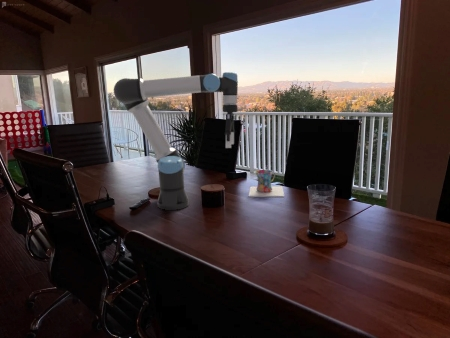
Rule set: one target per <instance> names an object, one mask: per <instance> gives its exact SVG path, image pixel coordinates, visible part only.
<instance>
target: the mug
mask: <svg viewBox="0 0 450 338" xmlns="http://www.w3.org/2000/svg"><path fill="white" fill-rule="evenodd" d="M255 175H256V177H257V186H256V187H257V191H260V192H269V191H271V190H272V187H271V186H272V184H271V183H272V182H273V181H274V180H275V178H276V172H274V171H273V170H270V169H260V170H256V171H255ZM272 176H273V178H272ZM271 178H272V179H271Z"/></svg>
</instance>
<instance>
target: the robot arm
mask: <svg viewBox="0 0 450 338" xmlns="http://www.w3.org/2000/svg"><path fill="white" fill-rule="evenodd" d="M238 83H239V82H238V74H237V72H235V71H234V72H233V71H232V72H231V71H229V72H222V75H221V76H218V75H217V74H214V73H208V74H203V75H202V74H201V75H191V76H190V75H189V76H181V77H179V76H178V77H170V78H167V77H165V78H158V79H145V80H144V79H142V78H141V77H139V78H127V77H126V78H125V77H124V78H121V79H119V80H118V81H117V82H116V83H115V84H114V85H113V86H114V87H113V94H114V97H115V99H116V100H117V101H118V102H120V103H121V104H123V105H124V107H125V109H126V110H127V112H128V113H130V114H132V115H133V117H134V118H135V120H136V121H137V124H138V125H139V127H140V129H141V130H142V132H143V134H144V135H145V137H146V139H147V141H148V143H149V145H150V146H151V148H152V150H153V152H154V153H155V155H156V157H155V160H156V163H157V168H158V180H159V195H158V199H157V208H158V207H159V208H161V209H160V210H162V209H165V210H164V211H177V209H178V210H182V209H186V208H187V207H189V206H190V200H189V197H188V194H187V192H186V190H185V178H184V171H185V166H186V163H185V161H184V159H183V158H182V156H180V154H179V153H178V151H177V149H176V148H174V147H172V146H171V143H169V140H168V139H167V137H166V135H165V133H164V131H163V130H162V128H161V126H160V124H159V122H158V121H157V119H156V117H155V115H154V113H153V111H152V110H151V108H150V106H149V103H150V100H149V98H158V97H166V96H167V97H168V96H176V95H187V94H188V95H189V94H195V93H196V94H198V93H222V104H223V105H222V112H223V113H226V115H225V129H224V130H225V132H223V135H225V149H232V145H234V144H235V133H236V129H235V113H237V112H238V100H239V99H240V98H239V97H238V91H239V89H238V88H239V87H238ZM159 208H158V209H159Z"/></svg>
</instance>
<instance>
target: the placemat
mask: <svg viewBox="0 0 450 338" xmlns="http://www.w3.org/2000/svg"><path fill="white" fill-rule="evenodd" d="M271 187H272V190H271V191H269V192H260V191H257V186H250V187H249V192H248V197H249V198H285V193H284V188H283V186H282V185H281V186H274V185H273V186H272V185H271Z"/></svg>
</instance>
